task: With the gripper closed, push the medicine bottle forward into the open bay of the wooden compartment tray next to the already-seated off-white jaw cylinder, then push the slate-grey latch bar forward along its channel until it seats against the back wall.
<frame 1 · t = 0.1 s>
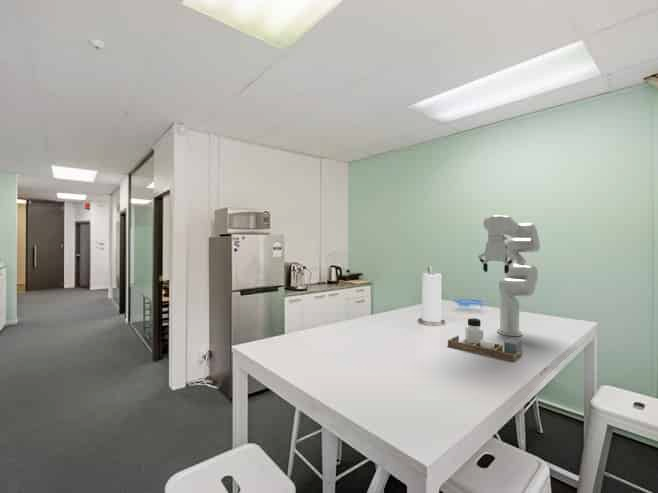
hand: (495, 272, 163), 37 cm above the table, tool pointing down, fingers open, 9 cm apart
jaw cylinder: (487, 351, 150), resting in wooden compartment tray
medicine bottle: (473, 341, 166), on the table
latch: (513, 346, 150), point 3 cm above the table, slide at 0.0 cm
wooden compartment tray: (482, 350, 151), on the table
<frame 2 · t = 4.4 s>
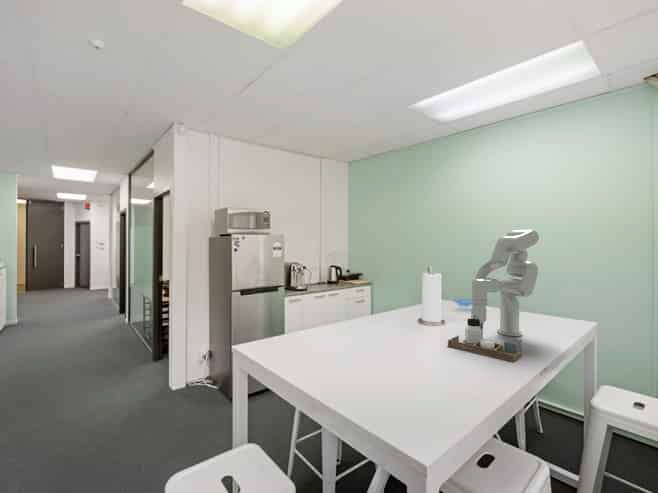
hand: (479, 335, 171), 2 cm above the table, tool pointing down, fingers closed
medicine bottle: (473, 342, 165), on the table, touching gripper
everything else where it was.
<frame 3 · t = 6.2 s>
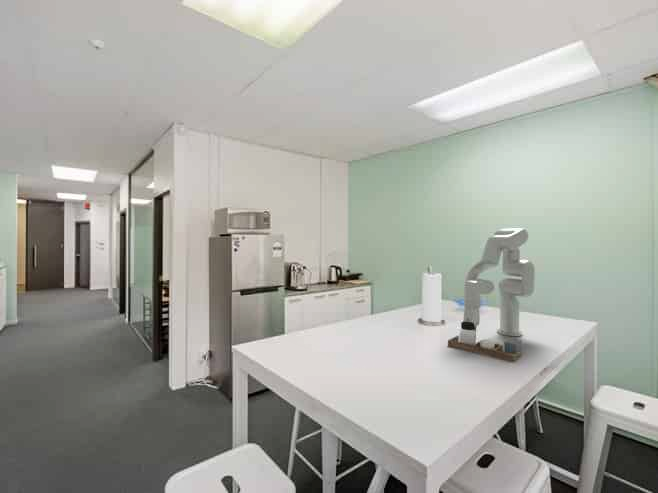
hand: (471, 339, 164), 2 cm above the table, tool pointing down, fingers closed
medicine bottle: (467, 346, 158), on the table, touching gripper
everything else where it was.
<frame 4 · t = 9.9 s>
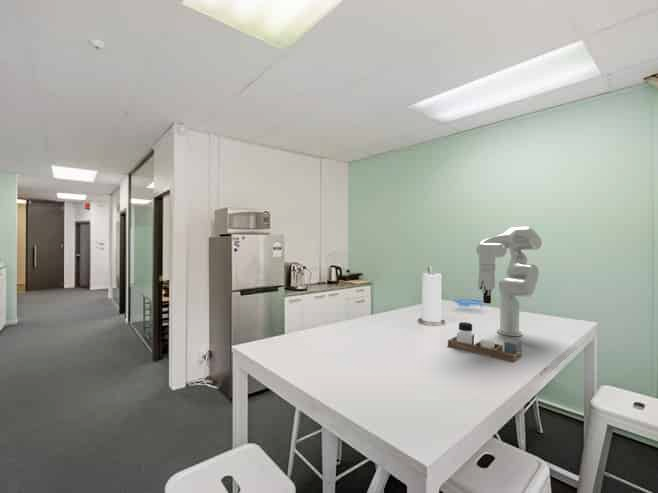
hand: (487, 302, 163), 21 cm above the table, tool pointing down, fingers closed
medicine bottle: (465, 347, 157), on the table
everything else where it was.
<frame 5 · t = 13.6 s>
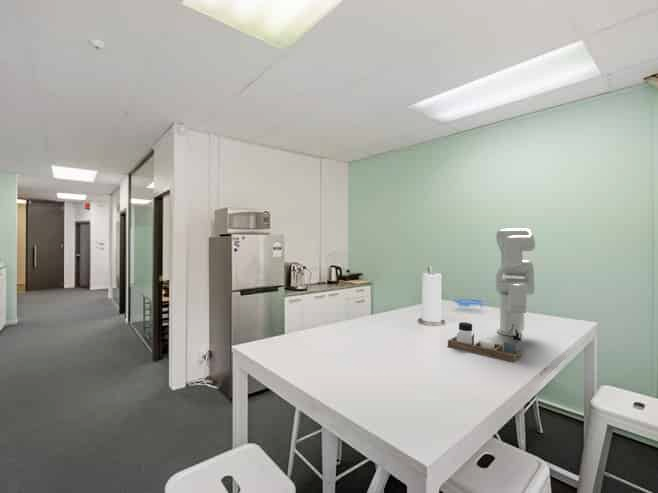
hand: (516, 346, 155), 1 cm above the table, tool pointing down, fingers closed
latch: (512, 346, 150), point 3 cm above the table, slide at 0.8 cm, touching gripper
everything else where it was.
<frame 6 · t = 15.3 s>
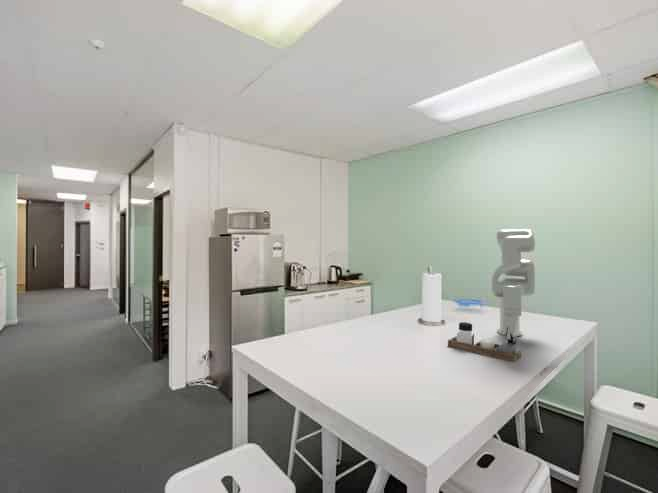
hand: (511, 350, 149), 1 cm above the table, tool pointing down, fingers closed
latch: (506, 350, 144), point 3 cm above the table, slide at 9.2 cm, touching gripper, wooden compartment tray
everything else where it was.
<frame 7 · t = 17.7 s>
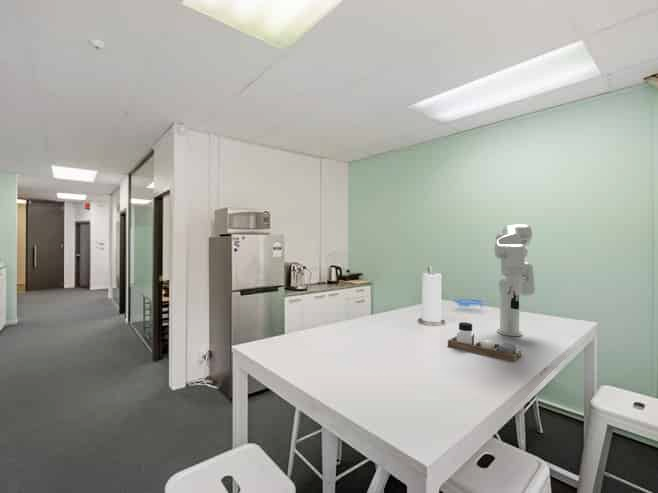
hand: (514, 308, 152), 20 cm above the table, tool pointing down, fingers closed
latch: (507, 350, 144), point 3 cm above the table, slide at 9.0 cm
everything else where it was.
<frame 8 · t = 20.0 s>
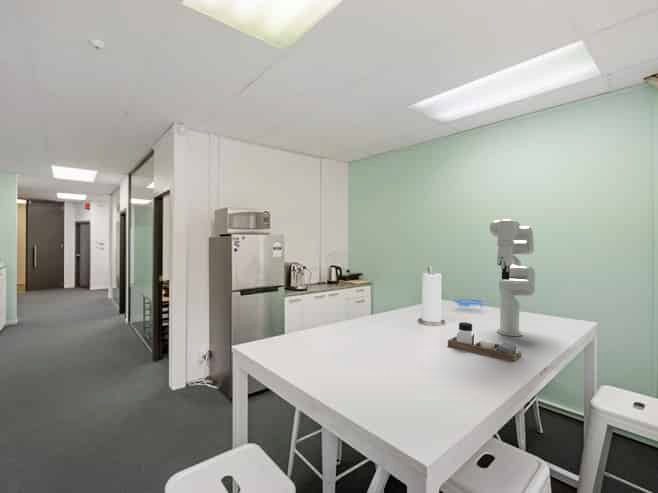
hand: (505, 279, 162), 33 cm above the table, tool pointing down, fingers closed
nothing on the table moved.
at the end: medicine bottle inside the target area on the wooden compartment tray (0.5 cm from its centre), point 0.0 cm above the wooden compartment tray's base; medicine bottle tilted 0°; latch slide at 9.0 cm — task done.
